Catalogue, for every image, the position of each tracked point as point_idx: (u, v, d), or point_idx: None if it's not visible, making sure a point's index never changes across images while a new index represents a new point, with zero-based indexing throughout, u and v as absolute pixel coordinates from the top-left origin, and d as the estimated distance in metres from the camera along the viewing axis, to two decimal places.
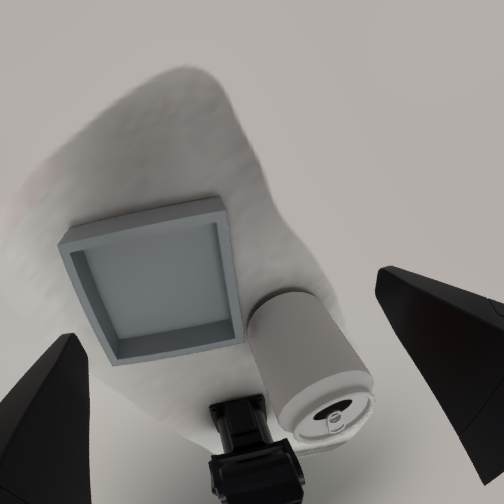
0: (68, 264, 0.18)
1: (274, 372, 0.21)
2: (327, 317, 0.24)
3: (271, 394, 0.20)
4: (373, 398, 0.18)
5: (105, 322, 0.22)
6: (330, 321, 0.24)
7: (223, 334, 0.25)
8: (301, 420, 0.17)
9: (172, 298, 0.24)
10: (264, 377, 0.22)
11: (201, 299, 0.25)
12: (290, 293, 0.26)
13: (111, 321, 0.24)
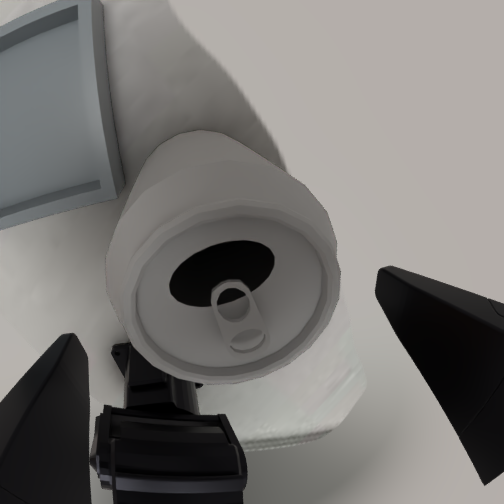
0: None
1: None
2: None
3: None
4: (331, 253, 0.08)
5: None
6: (252, 150, 0.13)
7: (90, 188, 0.14)
8: (125, 278, 0.07)
9: (36, 142, 0.14)
10: None
11: (71, 141, 0.14)
12: (197, 130, 0.16)
13: None
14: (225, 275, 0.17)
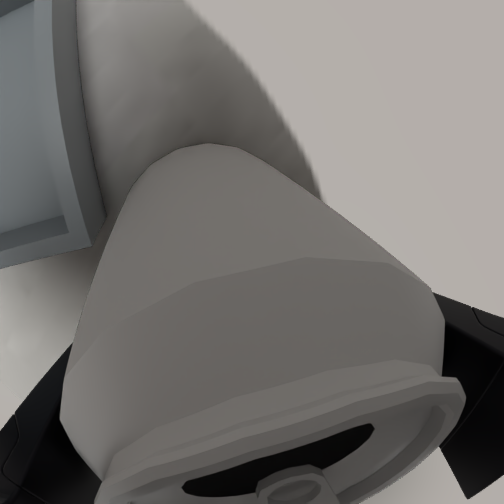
0: None
1: None
2: (285, 176, 0.09)
3: None
4: (461, 409, 0.03)
5: None
6: (291, 180, 0.09)
7: (56, 229, 0.10)
8: (99, 497, 0.03)
9: None
10: None
11: (32, 161, 0.10)
12: (204, 144, 0.11)
13: None
14: None
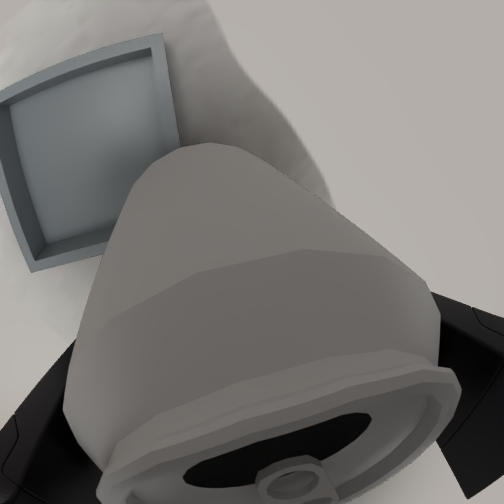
0: None
1: None
2: (284, 175, 0.09)
3: None
4: (457, 401, 0.04)
5: (25, 210, 0.15)
6: (291, 179, 0.09)
7: None
8: (101, 486, 0.03)
9: (106, 176, 0.17)
10: None
11: None
12: (205, 143, 0.11)
13: (38, 217, 0.17)
14: None
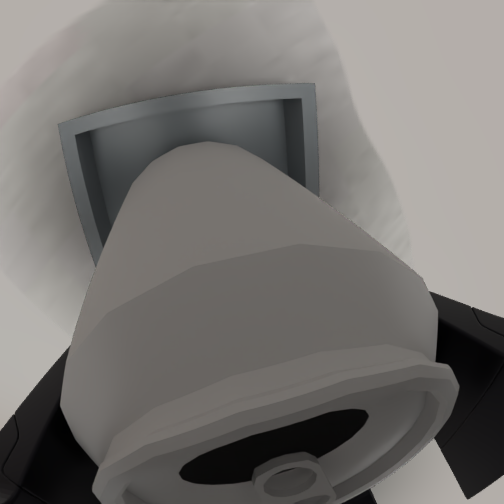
0: (70, 154, 0.11)
1: None
2: (283, 173, 0.09)
3: None
4: (454, 398, 0.04)
5: None
6: (289, 177, 0.09)
7: None
8: (97, 481, 0.03)
9: None
10: None
11: None
12: (204, 142, 0.11)
13: None
14: None
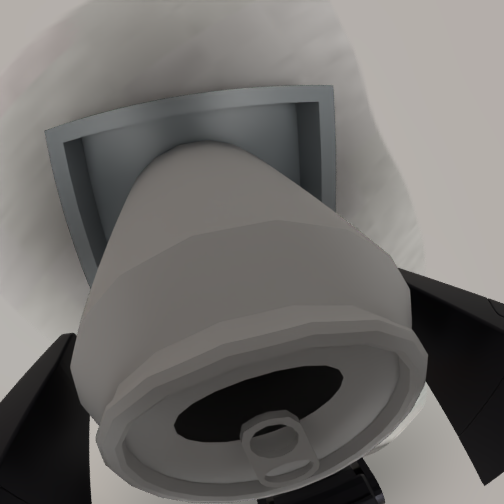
0: (58, 165, 0.10)
1: None
2: (275, 170, 0.10)
3: None
4: (424, 366, 0.04)
5: None
6: (281, 173, 0.10)
7: None
8: (101, 428, 0.04)
9: None
10: None
11: None
12: (203, 141, 0.12)
13: None
14: None
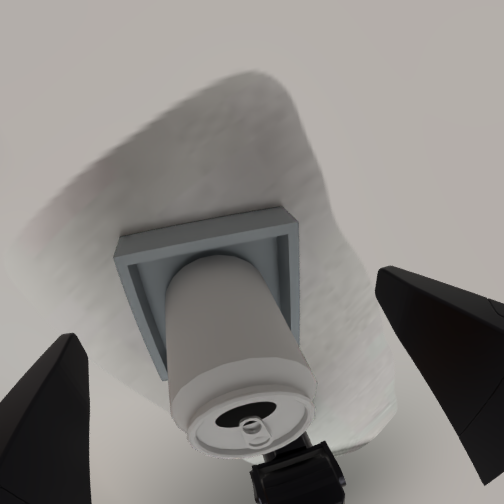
0: (124, 277, 0.18)
1: (171, 353, 0.15)
2: (258, 287, 0.18)
3: (168, 383, 0.15)
4: (310, 403, 0.13)
5: (156, 336, 0.22)
6: (261, 291, 0.18)
7: None
8: (191, 424, 0.12)
9: None
10: (167, 361, 0.16)
11: None
12: (214, 256, 0.20)
13: (160, 335, 0.23)
14: None
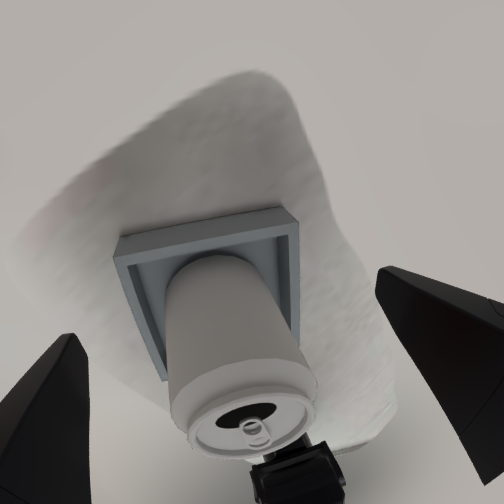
0: (124, 278, 0.18)
1: (171, 354, 0.15)
2: (258, 287, 0.18)
3: (168, 384, 0.15)
4: (310, 404, 0.12)
5: (156, 336, 0.22)
6: (261, 292, 0.18)
7: None
8: (191, 425, 0.12)
9: None
10: (167, 362, 0.16)
11: None
12: (214, 256, 0.20)
13: (160, 335, 0.23)
14: None
